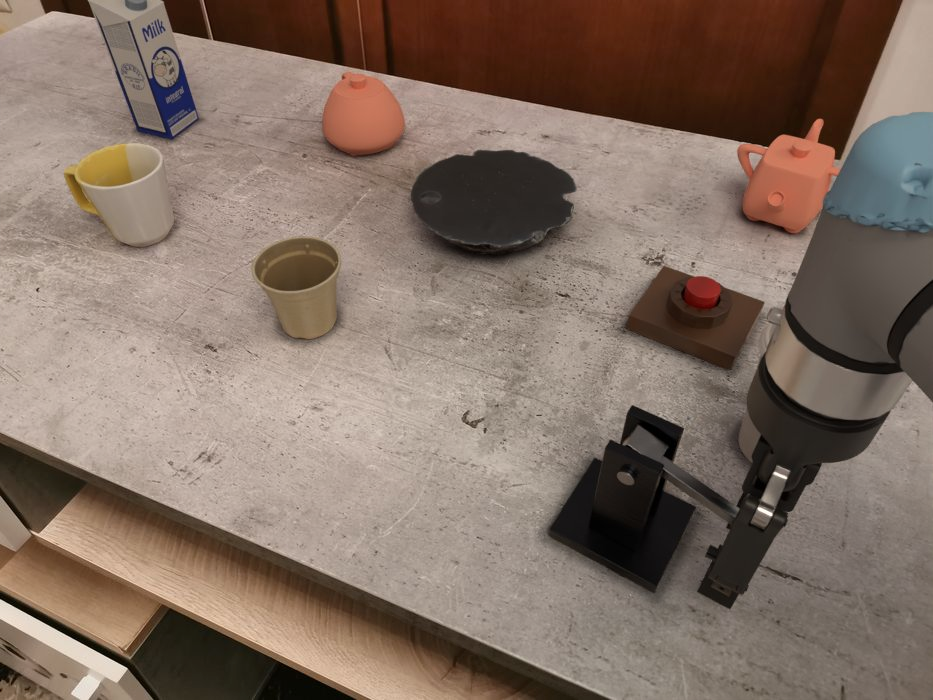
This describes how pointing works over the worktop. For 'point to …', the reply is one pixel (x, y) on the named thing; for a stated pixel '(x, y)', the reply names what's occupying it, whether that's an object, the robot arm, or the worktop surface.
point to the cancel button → (702, 292)
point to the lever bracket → (627, 507)
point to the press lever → (680, 474)
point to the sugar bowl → (362, 115)
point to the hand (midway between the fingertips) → (729, 563)
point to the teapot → (788, 179)
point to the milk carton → (147, 64)
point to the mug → (125, 192)
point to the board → (493, 200)
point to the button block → (695, 319)
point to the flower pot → (300, 283)
